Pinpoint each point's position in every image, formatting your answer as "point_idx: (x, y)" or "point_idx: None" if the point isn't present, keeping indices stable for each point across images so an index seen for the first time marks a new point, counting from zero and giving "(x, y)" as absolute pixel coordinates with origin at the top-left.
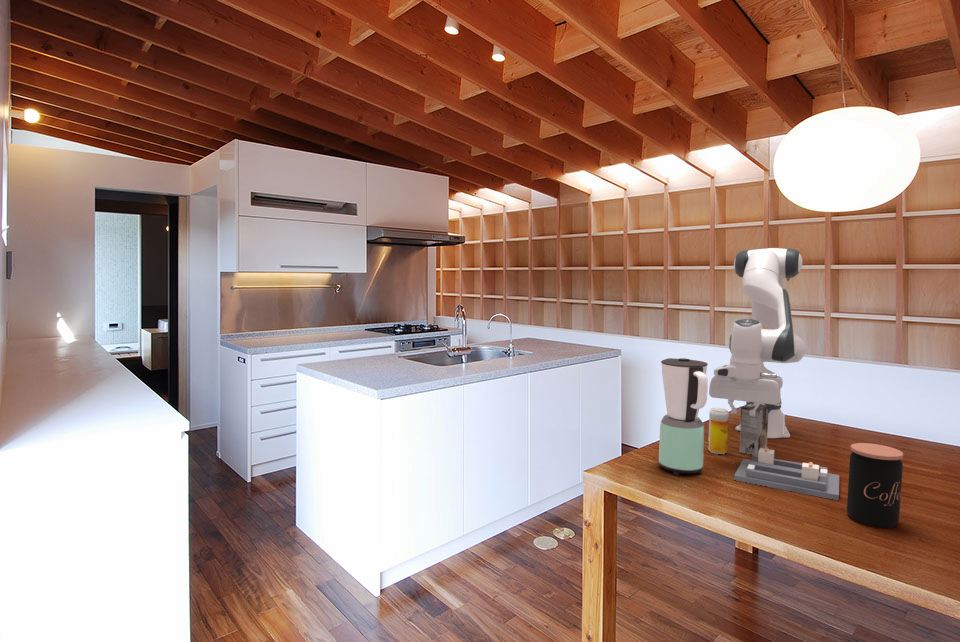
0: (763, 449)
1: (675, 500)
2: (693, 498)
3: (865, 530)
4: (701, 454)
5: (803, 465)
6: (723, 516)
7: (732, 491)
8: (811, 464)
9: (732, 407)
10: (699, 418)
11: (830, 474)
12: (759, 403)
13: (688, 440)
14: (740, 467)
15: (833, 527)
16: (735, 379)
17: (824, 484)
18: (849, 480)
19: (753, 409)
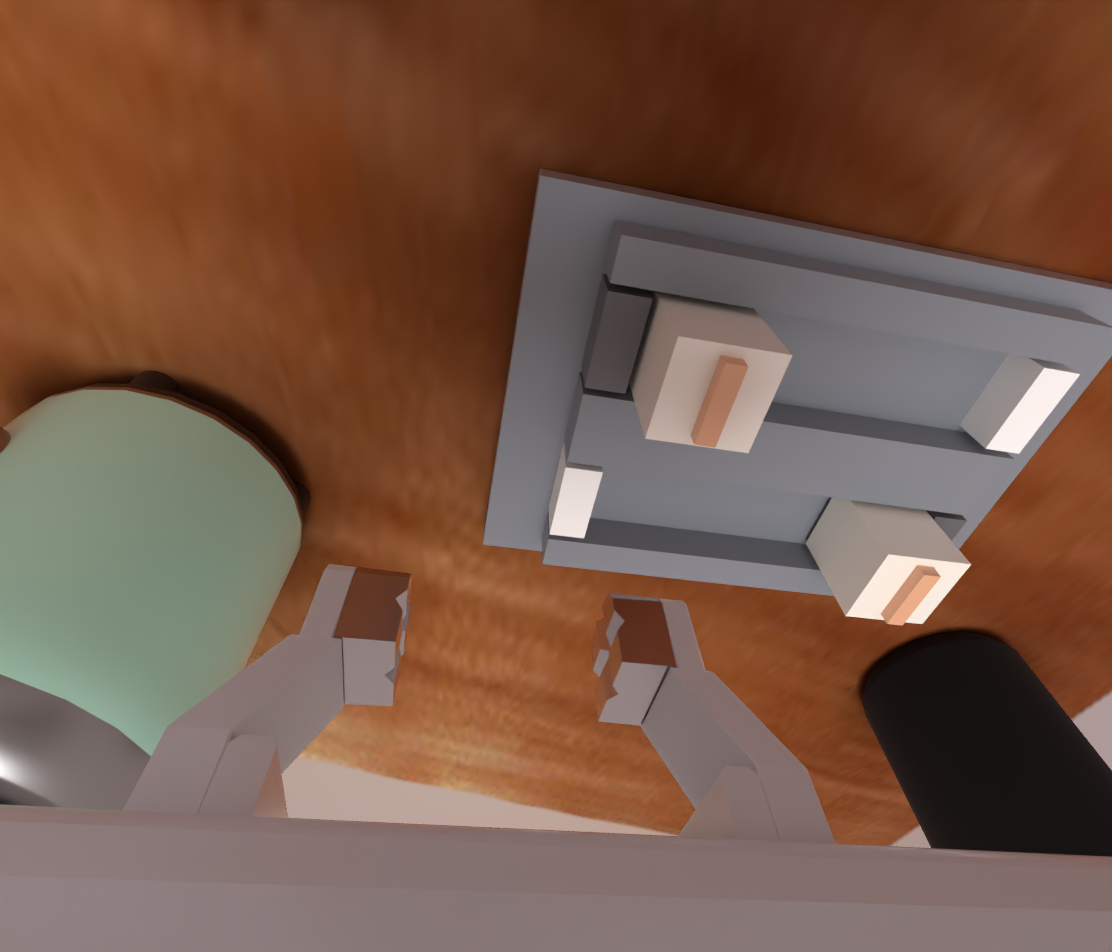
0: (698, 372)
1: (306, 749)
2: (356, 723)
3: (859, 733)
4: (269, 609)
5: (863, 598)
6: (467, 781)
7: (483, 634)
8: (910, 609)
9: (317, 721)
10: None
11: (1096, 310)
12: (814, 817)
13: None
14: (515, 407)
15: None
16: None
17: None
18: (929, 817)
19: (662, 755)
